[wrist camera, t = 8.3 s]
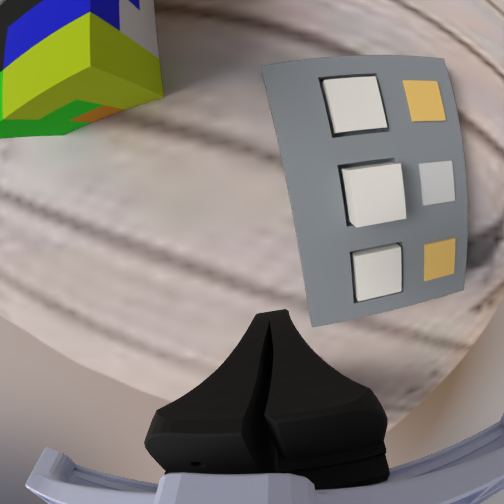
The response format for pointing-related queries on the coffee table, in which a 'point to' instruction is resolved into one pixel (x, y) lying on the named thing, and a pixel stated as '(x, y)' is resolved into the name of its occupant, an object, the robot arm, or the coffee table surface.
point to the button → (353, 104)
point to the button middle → (374, 193)
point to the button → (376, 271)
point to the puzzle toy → (74, 63)
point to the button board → (367, 153)
